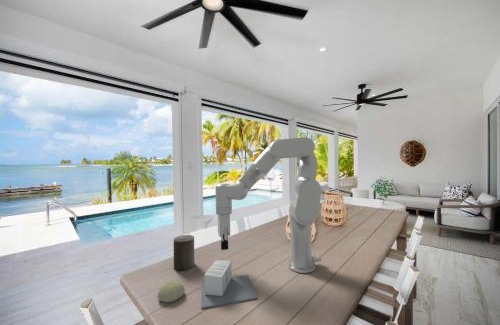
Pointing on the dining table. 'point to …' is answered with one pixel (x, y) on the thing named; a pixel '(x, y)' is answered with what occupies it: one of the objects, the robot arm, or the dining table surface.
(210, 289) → the supplement box
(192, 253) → the pillar candle
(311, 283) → the dining table surface
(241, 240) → the dining table surface
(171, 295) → the sea urchin shell
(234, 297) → the charcoal mat
